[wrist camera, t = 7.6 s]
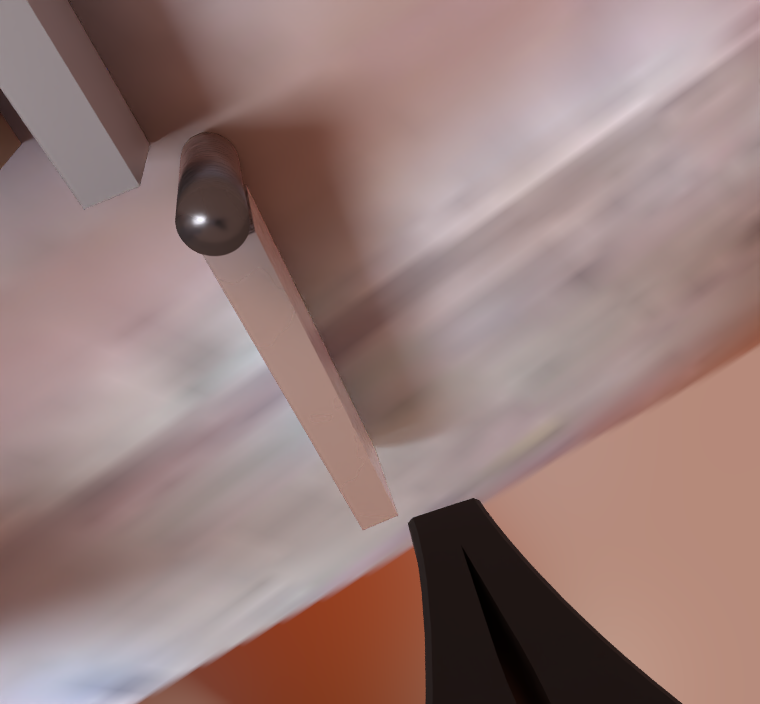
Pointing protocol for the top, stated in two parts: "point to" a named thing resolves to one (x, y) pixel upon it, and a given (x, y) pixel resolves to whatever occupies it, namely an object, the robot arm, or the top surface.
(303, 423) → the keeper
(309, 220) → the top surface
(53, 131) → the cradle
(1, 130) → the link block
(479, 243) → the top surface
